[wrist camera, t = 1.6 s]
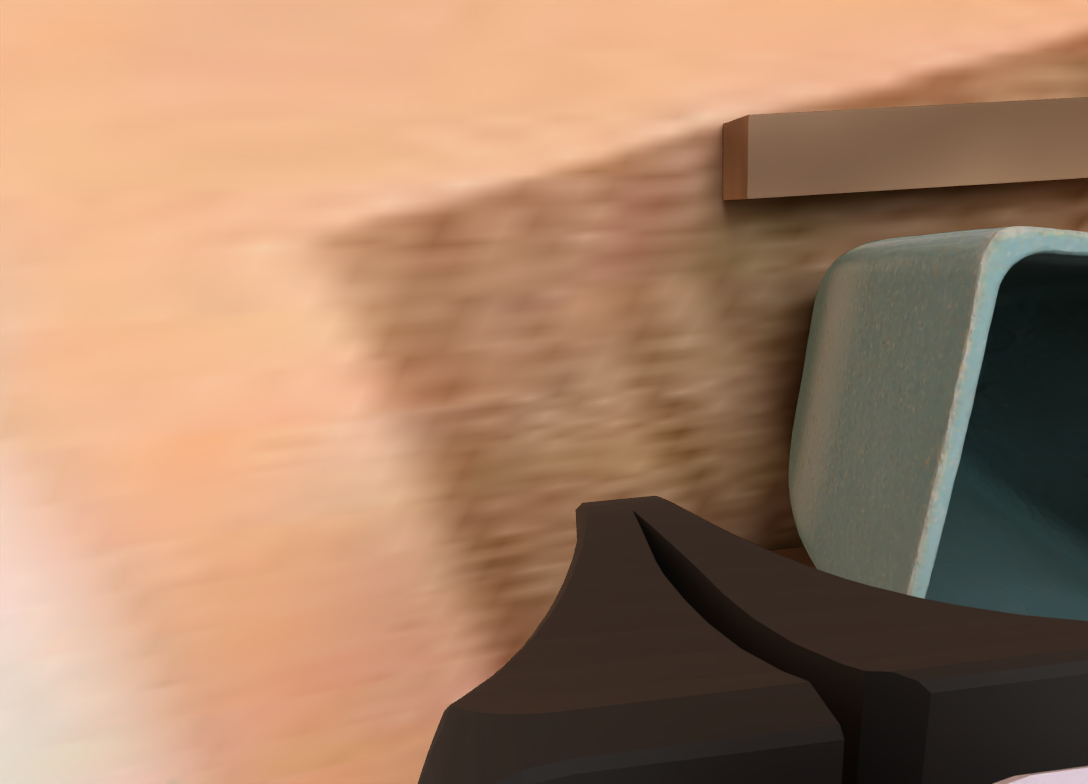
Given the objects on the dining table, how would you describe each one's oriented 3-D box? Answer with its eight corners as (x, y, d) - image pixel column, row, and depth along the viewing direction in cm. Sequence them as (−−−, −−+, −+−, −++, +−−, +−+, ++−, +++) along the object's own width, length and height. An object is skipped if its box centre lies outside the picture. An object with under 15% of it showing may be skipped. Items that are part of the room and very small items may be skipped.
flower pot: (980, 511, 23) (1293, 695, 14) (722, 505, 22) (887, 700, 13) (1045, 238, 20) (1462, 258, 12) (762, 219, 20) (992, 223, 11)
